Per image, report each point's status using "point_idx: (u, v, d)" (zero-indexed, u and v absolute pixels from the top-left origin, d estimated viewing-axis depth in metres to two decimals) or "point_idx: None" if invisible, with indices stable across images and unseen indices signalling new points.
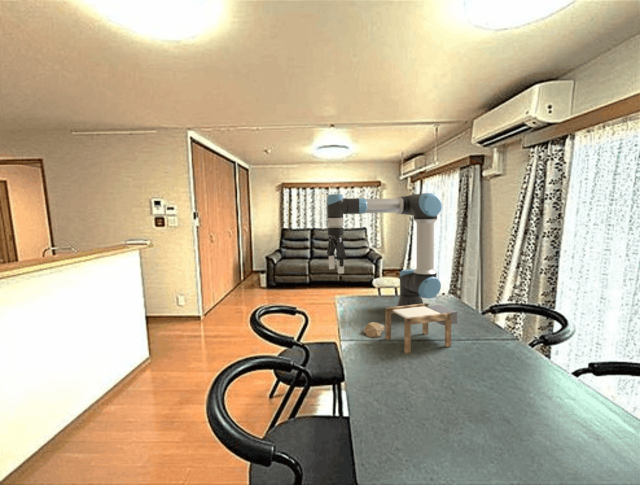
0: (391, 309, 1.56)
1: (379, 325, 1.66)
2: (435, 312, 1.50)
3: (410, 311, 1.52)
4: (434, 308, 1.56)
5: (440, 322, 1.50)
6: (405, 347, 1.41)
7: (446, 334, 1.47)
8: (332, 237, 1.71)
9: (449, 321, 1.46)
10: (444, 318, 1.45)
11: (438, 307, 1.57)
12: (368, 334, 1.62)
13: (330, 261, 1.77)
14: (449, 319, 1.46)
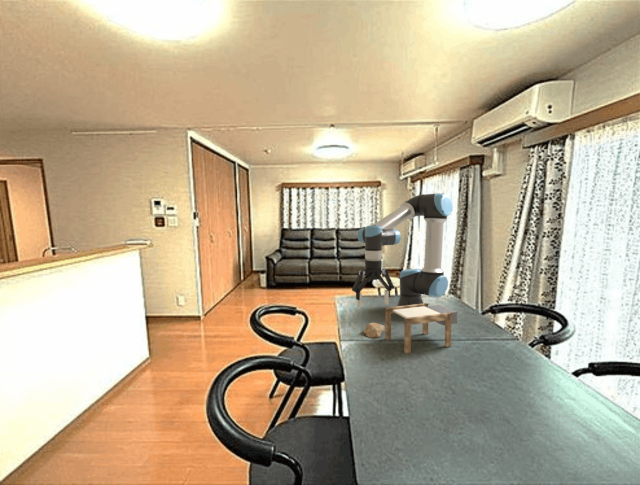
0: (391, 309, 1.56)
1: (379, 325, 1.65)
2: (435, 312, 1.50)
3: (410, 311, 1.52)
4: (434, 308, 1.56)
5: (440, 322, 1.50)
6: (405, 347, 1.41)
7: (446, 334, 1.47)
8: None
9: (449, 321, 1.46)
10: (444, 318, 1.45)
11: (438, 307, 1.57)
12: (368, 334, 1.61)
13: (385, 295, 1.66)
14: (449, 319, 1.46)
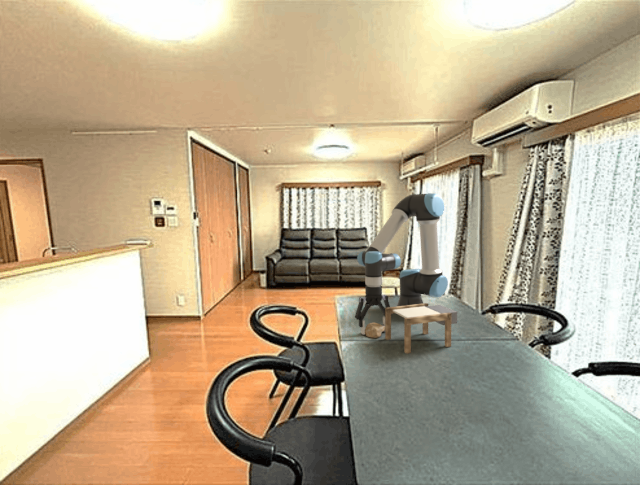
0: (391, 309, 1.56)
1: (379, 325, 1.64)
2: (435, 312, 1.50)
3: (410, 311, 1.52)
4: (434, 308, 1.56)
5: (440, 322, 1.50)
6: (405, 347, 1.41)
7: (446, 334, 1.47)
8: None
9: (449, 321, 1.46)
10: (444, 318, 1.45)
11: (438, 307, 1.57)
12: (368, 334, 1.60)
13: (383, 322, 1.67)
14: (449, 319, 1.46)
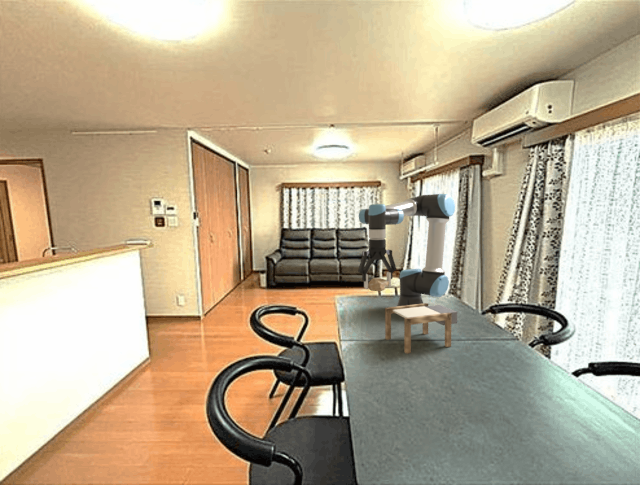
0: (391, 309, 1.56)
1: (383, 280, 1.61)
2: (435, 312, 1.50)
3: (410, 311, 1.52)
4: (434, 308, 1.56)
5: (440, 322, 1.50)
6: (405, 347, 1.41)
7: (446, 334, 1.47)
8: None
9: (449, 321, 1.46)
10: (444, 318, 1.45)
11: (438, 307, 1.57)
12: (371, 288, 1.57)
13: (387, 277, 1.63)
14: (449, 319, 1.46)
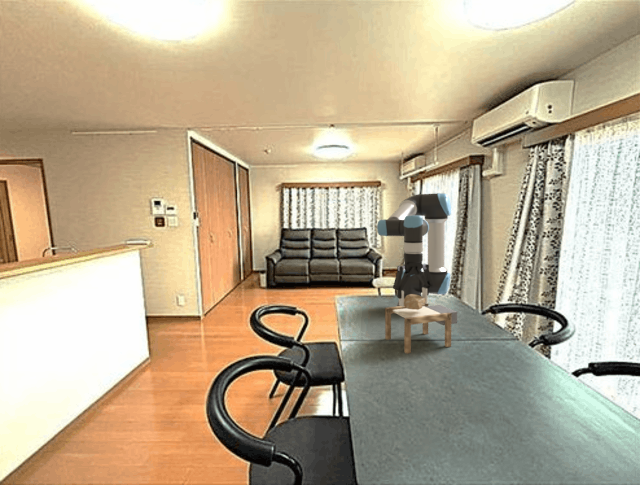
0: (391, 309, 1.56)
1: (419, 297, 1.50)
2: (435, 312, 1.50)
3: (410, 311, 1.52)
4: (434, 308, 1.56)
5: (440, 322, 1.50)
6: (405, 347, 1.41)
7: (446, 334, 1.47)
8: None
9: (449, 321, 1.46)
10: (444, 318, 1.45)
11: (438, 307, 1.57)
12: (408, 306, 1.46)
13: (423, 294, 1.52)
14: (449, 319, 1.46)
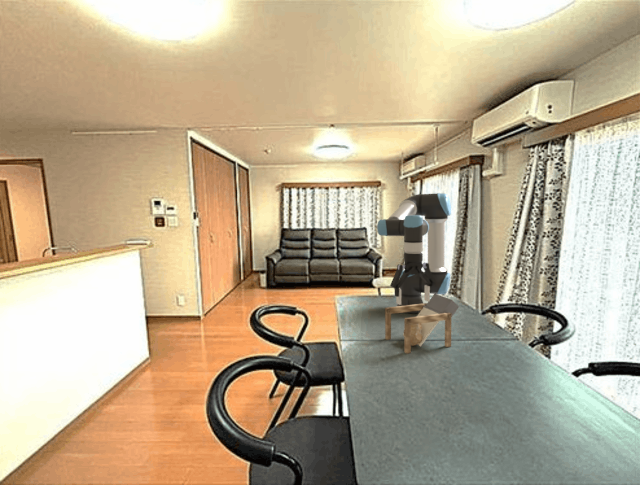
0: (391, 309, 1.56)
1: (414, 325, 1.50)
2: None
3: None
4: (432, 306, 1.55)
5: None
6: (405, 347, 1.41)
7: (446, 334, 1.47)
8: None
9: (449, 321, 1.46)
10: (444, 318, 1.45)
11: (435, 301, 1.56)
12: (411, 343, 1.48)
13: (425, 291, 1.52)
14: (449, 319, 1.46)
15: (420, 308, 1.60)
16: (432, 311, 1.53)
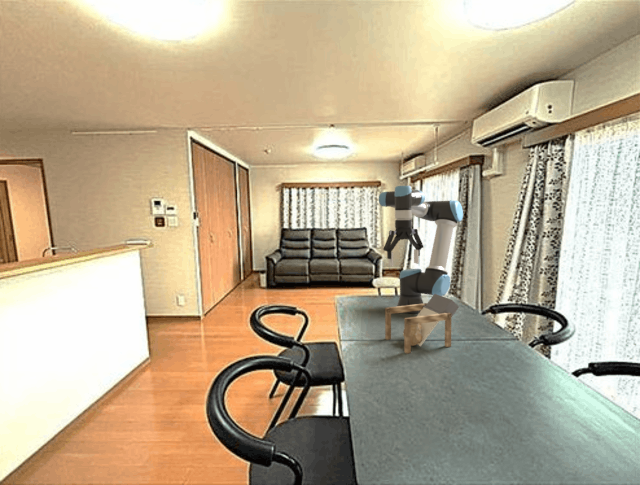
0: (391, 309, 1.56)
1: (414, 325, 1.50)
2: None
3: None
4: (432, 306, 1.55)
5: None
6: (405, 347, 1.41)
7: (446, 334, 1.47)
8: None
9: (449, 321, 1.46)
10: (444, 318, 1.45)
11: (435, 301, 1.56)
12: (411, 343, 1.48)
13: (414, 255, 1.70)
14: (449, 319, 1.46)
15: (420, 308, 1.60)
16: (432, 311, 1.53)
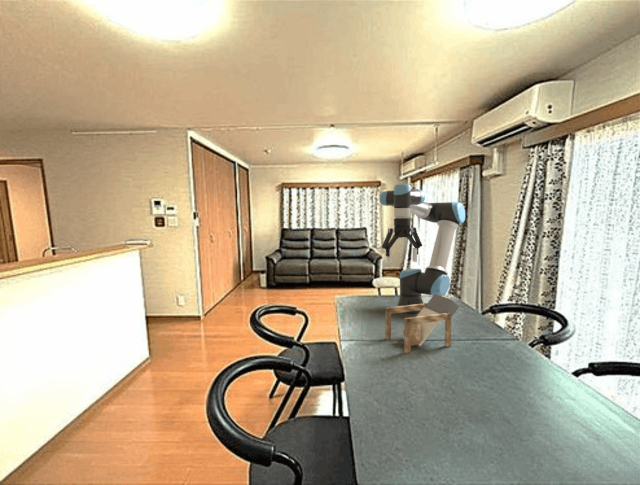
0: (391, 309, 1.56)
1: (414, 325, 1.50)
2: None
3: None
4: (432, 306, 1.55)
5: None
6: (405, 347, 1.41)
7: (446, 334, 1.47)
8: None
9: (449, 321, 1.46)
10: (444, 318, 1.45)
11: (435, 301, 1.56)
12: (411, 343, 1.48)
13: (413, 253, 1.71)
14: (449, 319, 1.46)
15: (420, 308, 1.60)
16: (432, 311, 1.53)
